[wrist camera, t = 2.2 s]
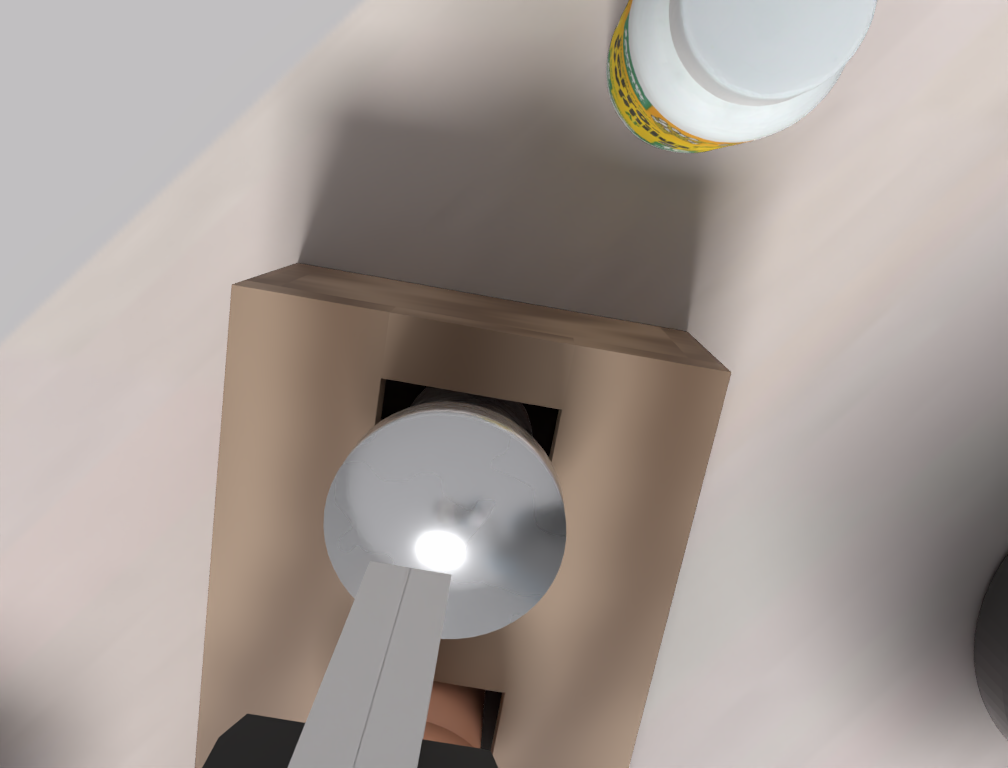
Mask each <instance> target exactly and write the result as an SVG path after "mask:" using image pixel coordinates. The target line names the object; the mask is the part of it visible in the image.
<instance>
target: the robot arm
mask: <svg viewBox="0 0 1008 768" xmlns="http://www.w3.org/2000/svg"><path fill="white" fill-rule="evenodd" d="M450 581H451V574H445V573H439V572H433V571H427V570H421V569H415V568H409V567H403V566H397V565H391V564H385V563H379V562H373V561H370V562H369V565H368V567H367V570H366V572H365V575H364V577H363V580H362V582H361V585H360V587H359V590H358V592H357V595H356V597H355V600H354V602H353V605H352V607H351V610H350V612H349V615H348V618H347V620H346V623H345V625H344V628H343V630H342V633H341V635H340V638H339V640H338V643H337V645H336V648H335V650H334V653H333V655H332V658H331V660H330V663H329V665H328V668H327V670H326V673H325V675H324V678H323V680H322V683H321V685H320V688H319V690H318V693H317V695H316V698H315V700H314V703H313V705H312V708H311V710H310V713H309V715H308V718H307V720H306V723H303V722H297V721H291V720H285V719H279V718H272V717H266V716H260V715H254V714H246V715H245V716H244V717H242V718H241V719H240V720H239V721H238V722H236V723H235V724H234V725H233V726H232V727H230V728H229V729H228V730H227V731H226V732H224V733H223V734H222V735H221V736H220V737H219V738H218V739H217V741H216V743H215V745H214V747H213V749H212V750H211V752H210V754H209V756H208V758H207V760H206V761H205V763H204V765H203V767H202V768H498V766H497V764H496V762H495V759H494V757H493V755H492V752H491V750H486V749H480V748H474V747H468V746H461V745H455V744H449V743H443V742H437V741H430V740H424V739H423V737H424V732H425V726H426V720H427V715H428V709H429V703H430V698H431V692H432V686H433V680H434V674H435V668H436V663H437V657H438V651H439V645H440V639H441V633H442V627H443V622H444V616H445V610H446V604H447V598H448V592H449V587H450ZM974 662H975V672H976V678H977V683H978V687H979V690H980V694H981V697H982V699H983V702H984V704H985V707H986V709H987V711H988V713H989V715H990V716H991V718H992V720H993V721H994V723H995V725H996V726H997V728H998V729H999V730H1000V732H1001V733H1002V734H1003V735H1004V737H1005V738H1006V739H1007V740H1008V554H1007V556H1006V557H1005V559H1004V560H1003V562H1002V564H1001V565H1000V567H999V568H998V570H997V572H996V574H995V576H994V578H993V580H992V581H991V583H990V586H989V588H988V590H987V593H986V595H985V598H984V601H983V604H982V607H981V610H980V614H979V618H978V621H977V627H976V633H975V644H974Z"/></svg>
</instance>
